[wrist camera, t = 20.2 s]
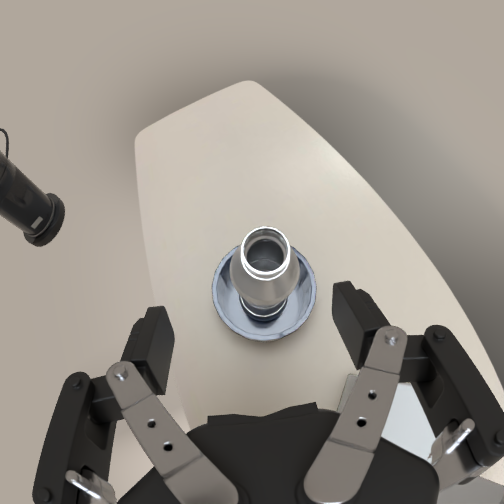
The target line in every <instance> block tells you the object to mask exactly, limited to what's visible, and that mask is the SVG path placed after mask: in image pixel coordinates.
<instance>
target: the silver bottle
mask: <svg viewBox="0 0 504 504" xmlns="http://www.w3.org/2000/svg"><path fill="white" fill-rule="evenodd" d="M299 273H300V267H299V262H298V259H297V256H296V254H295V252H294V251H293V249H292V247H291V246H290V245H289V243H288V240H287V238H286V237H285V235H284V234H283V233H282V232H280V231H279V230H277V229H275V228H272V227H265V226H264V227H259V228H256V229H254V230H252V231H251V232H250V233H248V234H247V236H246V237H245V239H244V241H243V242H242V243H241V244H240V246H239V247H238V248H237V249H236V251H235V253H234V255H233V256H232V259H231V263H230V278H231V281H232V284H233V286H234V288H235V289H236V291H237V292H238V293H239V301H240V305H241V307H242V309H243V311H244V312H245V313H246V314H247V315H248V316H250V317H251V318H253V319H255V320H259V321H269V320H272V319H274V318H276V317H278V316H279V315H280V314H281V313H282V312H283V311H284V309H285V307H286V305H287V301H288V296H289V295H290V294H291V293H292V291H293V290H294V289H295V287H296V285H297V282H298V279H299Z"/></svg>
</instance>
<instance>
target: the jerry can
mask: <svg viewBox="0 0 504 504" xmlns="http://www.w3.org/2000/svg"><path fill="white" fill-rule="evenodd" d="M437 504H504V486H503V485H500V484H498V483H495V482H492V481H490V480H487V479H485V478H482V477H480V476H478V477H476V478H475V479H473V480H472V481H471V482H469V483H467V484H464V485H458V484H456V485H454V486H452V487H451V488H449V489H447V490H445V491H443V492H441V493H439V495H438V500H437Z"/></svg>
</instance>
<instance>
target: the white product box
mask: <svg viewBox="0 0 504 504" xmlns="http://www.w3.org/2000/svg"><path fill="white" fill-rule="evenodd" d="M357 377H358V375H353V374H349V375H348V377H347V381H346V384H345V388H344V391H343V394H342V397H341V401H340V404H339V407H338V410H337V412H339V413H342V410H343V408H344V406H345V404H346V402H347V400H348V398H349V395H350V393H351V391H352V389H353V386H354V384H355V382H356V379H357ZM381 436H382V437H383V438H385V439H387V440H389V441H391V442H392V443H394V444H396V445H398V446H400V447H402V448H403V449H405V450H407V451H409V452H411V453H413V454H415V455H417V456H419V457H421V458H423V459H425V460H426V461H428V462H429V463H430V464H431V463H432V456H431V446H432V444H433V442H434V440H435V439H436V438H435V436H434V434H433V431H432V429H431V427H430V424H429V422H428V420H427V417H426V415H425V413H424V411H423V409H422V406H421V404H420V402H419V400H418V398H417V396H416V393H415V391H414V389H413V387H412V385H411V384H410V383H398V386H397V389H396V393H395V396H394V399H393V402H392V406H391V409H390V412H389V415H388V418H387V421H386V424H385V426H384V429H383V432H382V435H381Z"/></svg>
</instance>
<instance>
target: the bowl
mask: <svg viewBox="0 0 504 504" xmlns="http://www.w3.org/2000/svg"><path fill="white" fill-rule="evenodd" d="M239 246H240V245H239ZM239 246H237V247H235V248H234V249H233V250H231V251H230V252H229V253H228V254H227V255H226V256H225V257H224V258H223V259H222V261H221V262H220V264H219V266H218V268H217V269H216V271H215V274H214V279H213V284H212V294H213V302H214V305H215V308H216V310H217V312H218V314H219V316H220V318H221V319H222V320H223V321H224V322H225V323H226V324H227V326H228V327H229V328H230V329H231V330H233V331H234V332H235V333H237V334H239V335H241V336H243V337H245V338H247V339H248V340H253V341H259V342H269V341H275V340H279V339H281V338H283V337H285V336H287V335H289V334H290V333H292V332H294V331H296V330H297V329H298V328H299V327H300V326H301V325H302V324H303V323H304V322H305V321H306V320H307V319H308V317H309V315H310V313H311V311H312V308H313V306H314V303H315V298H316V289H317V288H316V282H315V277H314V272H313V270H312V269H311V267H310V265H309V263H308V262H307V260H306V259H305V257H304V256H303V255H301V254H300V253H299V252H298V251H297V250H296V249H295V248H294V247H292V246H291V247H292V249H293V251H294V252H295V254H296V256H297V259H298V262H299V267H300V273H299V279H298V282H297V285H296V287H295V289H294V290H293V291H292V293H291V294H290V295H289V296H288V301H287V305H286V307H285V309H284V311H283V312H282V313H281V314H280V315H279V316H278V317H276V318H274V319H272V320H269V321H259V320H255V319H253V318H251V317H250V316H248V315H247V314H246V313H245V312H244V311H243V309H242V307H241V305H240V301H239V293H238V292H237V291H236V289H235V288H234V286H233V284H232V281H231V278H230V263H231V259H232V256H233V255H234V253H235V251H236V249H237V248H238V247H239Z"/></svg>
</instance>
